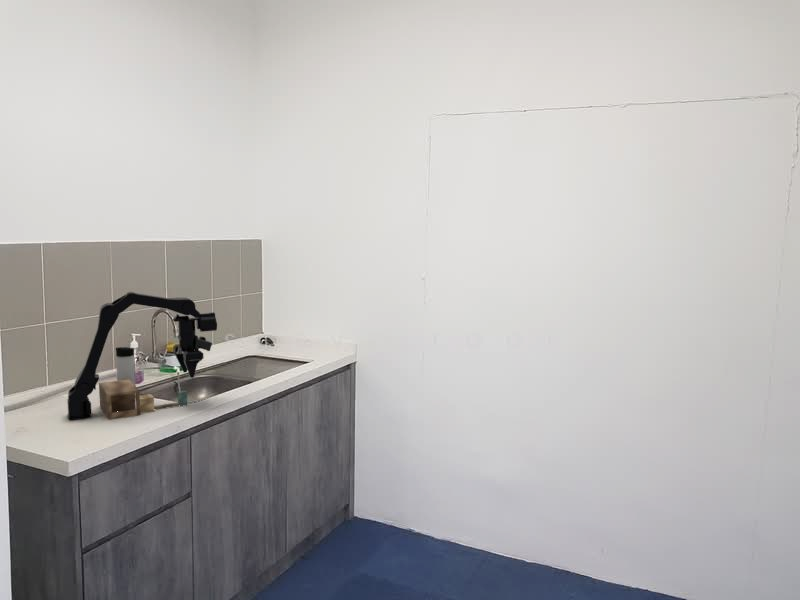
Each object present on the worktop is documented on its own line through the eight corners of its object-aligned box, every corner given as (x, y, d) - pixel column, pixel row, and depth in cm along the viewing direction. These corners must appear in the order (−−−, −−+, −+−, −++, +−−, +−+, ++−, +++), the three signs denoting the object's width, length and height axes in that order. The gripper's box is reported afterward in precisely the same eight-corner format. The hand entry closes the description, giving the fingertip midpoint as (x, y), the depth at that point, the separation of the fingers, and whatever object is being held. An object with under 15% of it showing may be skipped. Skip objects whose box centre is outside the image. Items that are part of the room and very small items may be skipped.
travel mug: (113, 399, 235) (111, 347, 233) (128, 395, 241) (126, 344, 238) (124, 402, 232) (122, 348, 230) (139, 397, 238) (137, 346, 236)
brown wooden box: (108, 419, 211) (107, 394, 210) (100, 406, 226) (98, 382, 225) (140, 414, 217) (139, 390, 216) (130, 402, 232) (129, 379, 230)
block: (139, 413, 219) (138, 399, 218) (136, 409, 223) (135, 396, 222) (188, 406, 228) (187, 392, 227) (184, 402, 232) (184, 389, 232)
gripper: (217, 334, 224) (218, 377, 226) (202, 327, 240) (203, 367, 242) (185, 337, 218) (187, 381, 220) (171, 329, 234) (173, 370, 235)
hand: (188, 374), depth 229 cm, fingers open, 9 cm apart
